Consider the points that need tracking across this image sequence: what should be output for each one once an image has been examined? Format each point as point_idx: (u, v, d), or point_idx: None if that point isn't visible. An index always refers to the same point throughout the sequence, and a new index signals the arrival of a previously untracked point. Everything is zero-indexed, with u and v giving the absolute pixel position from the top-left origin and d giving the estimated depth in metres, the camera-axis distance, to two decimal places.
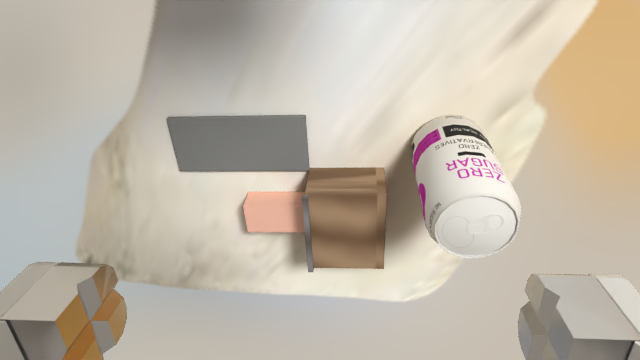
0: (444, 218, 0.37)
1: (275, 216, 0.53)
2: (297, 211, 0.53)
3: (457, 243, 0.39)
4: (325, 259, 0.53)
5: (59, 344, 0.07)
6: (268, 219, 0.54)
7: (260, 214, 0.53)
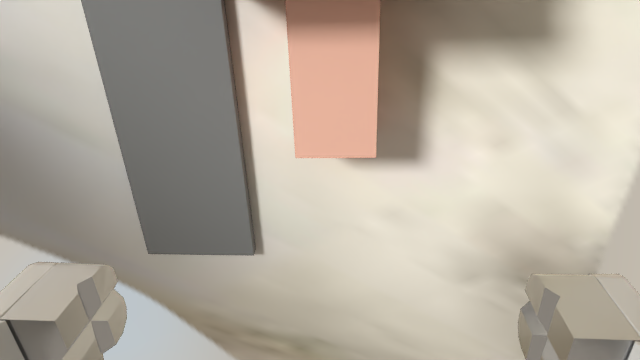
0: None
1: (323, 83, 0.20)
2: (301, 18, 0.19)
3: None
4: None
5: (59, 344, 0.07)
6: (334, 100, 0.20)
7: (316, 119, 0.21)
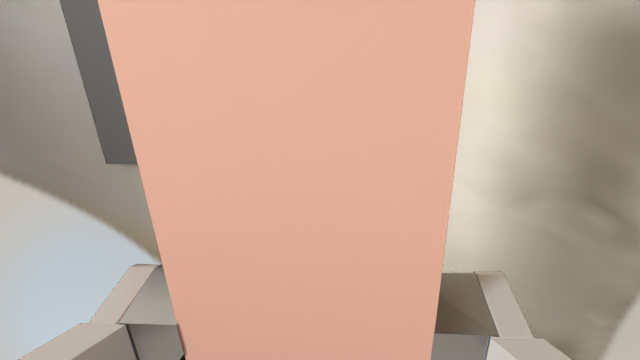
0: None
1: (272, 322, 0.07)
2: (186, 156, 0.05)
3: None
4: None
5: (176, 348, 0.07)
6: None
7: None
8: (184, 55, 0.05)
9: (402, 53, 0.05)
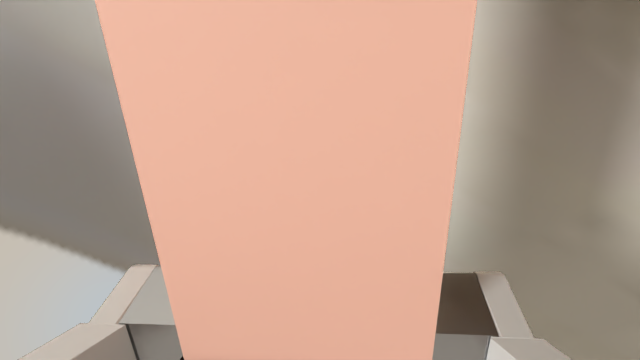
0: None
1: (271, 326, 0.07)
2: (185, 158, 0.05)
3: None
4: None
5: (176, 349, 0.07)
6: None
7: None
8: (183, 57, 0.05)
9: (404, 54, 0.05)
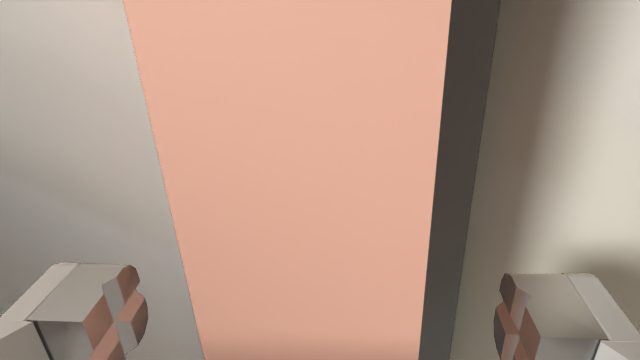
0: None
1: (276, 295, 0.07)
2: (199, 140, 0.06)
3: None
4: None
5: (85, 345, 0.07)
6: (306, 330, 0.08)
7: None
8: (199, 51, 0.06)
9: (390, 47, 0.05)
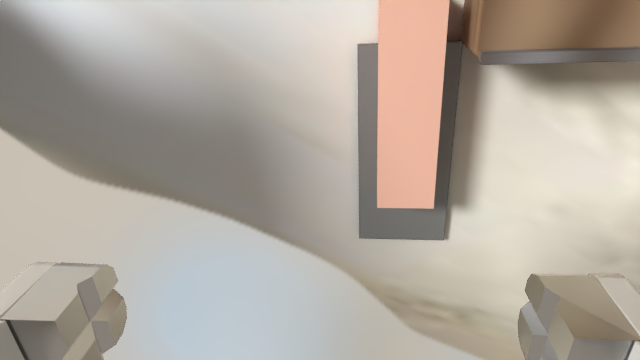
0: None
1: (400, 160, 0.30)
2: (388, 121, 0.29)
3: None
4: None
5: (59, 344, 0.07)
6: (406, 171, 0.30)
7: (393, 183, 0.31)
8: (391, 103, 0.28)
9: (430, 102, 0.28)
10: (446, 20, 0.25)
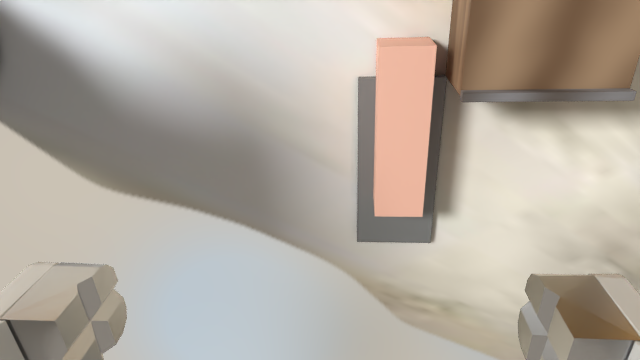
0: None
1: (394, 177, 0.35)
2: (384, 144, 0.34)
3: None
4: (614, 65, 0.28)
5: (59, 344, 0.07)
6: (400, 186, 0.35)
7: (389, 195, 0.36)
8: (388, 129, 0.33)
9: (420, 129, 0.33)
10: (434, 63, 0.31)
